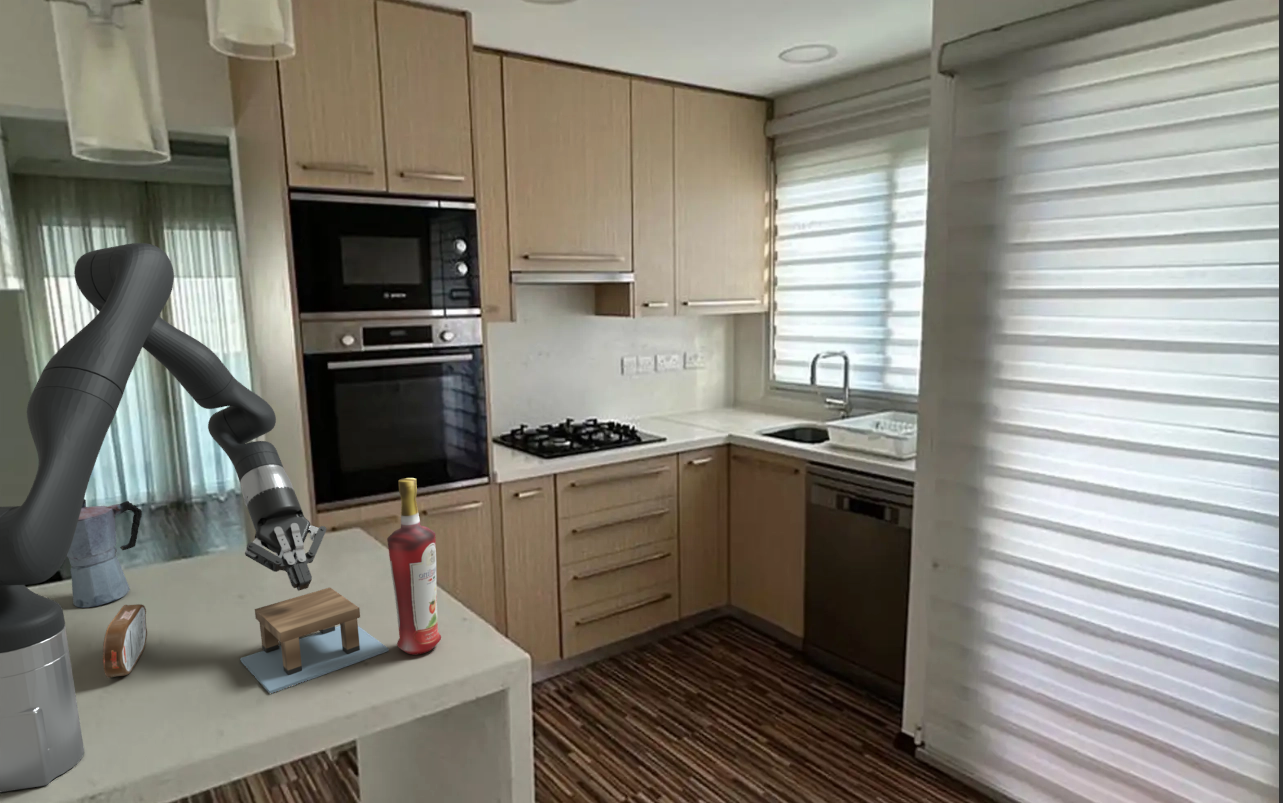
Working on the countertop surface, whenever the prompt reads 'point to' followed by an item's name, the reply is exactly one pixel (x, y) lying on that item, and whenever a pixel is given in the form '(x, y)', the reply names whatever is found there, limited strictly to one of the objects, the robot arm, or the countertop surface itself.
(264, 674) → the mat
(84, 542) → the moka pot
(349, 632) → the wooden board with legs
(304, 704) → the countertop surface
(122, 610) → the tin
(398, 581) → the liquor
